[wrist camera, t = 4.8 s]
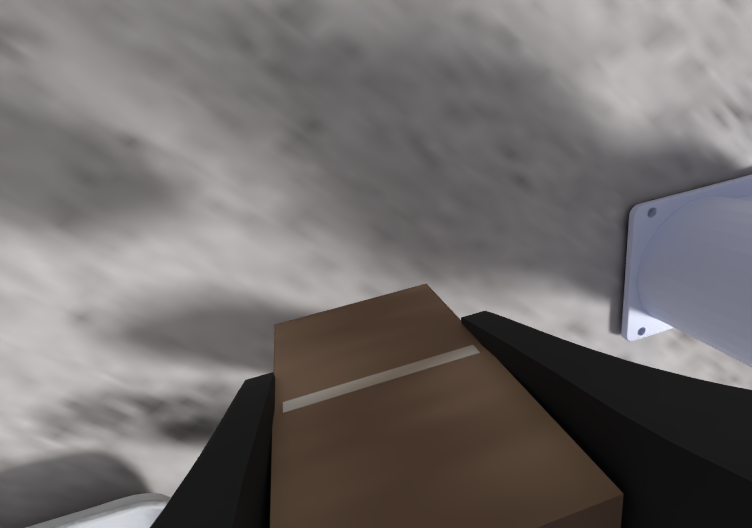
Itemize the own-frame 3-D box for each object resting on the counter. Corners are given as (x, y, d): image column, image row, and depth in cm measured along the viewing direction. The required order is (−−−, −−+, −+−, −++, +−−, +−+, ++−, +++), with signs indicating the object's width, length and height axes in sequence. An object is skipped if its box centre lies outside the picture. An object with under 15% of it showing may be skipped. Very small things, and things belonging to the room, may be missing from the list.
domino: (426, 283, 11) (623, 492, 5) (433, 331, 12) (617, 575, 5) (274, 324, 11) (266, 631, 4) (290, 372, 11) (304, 708, 5)
